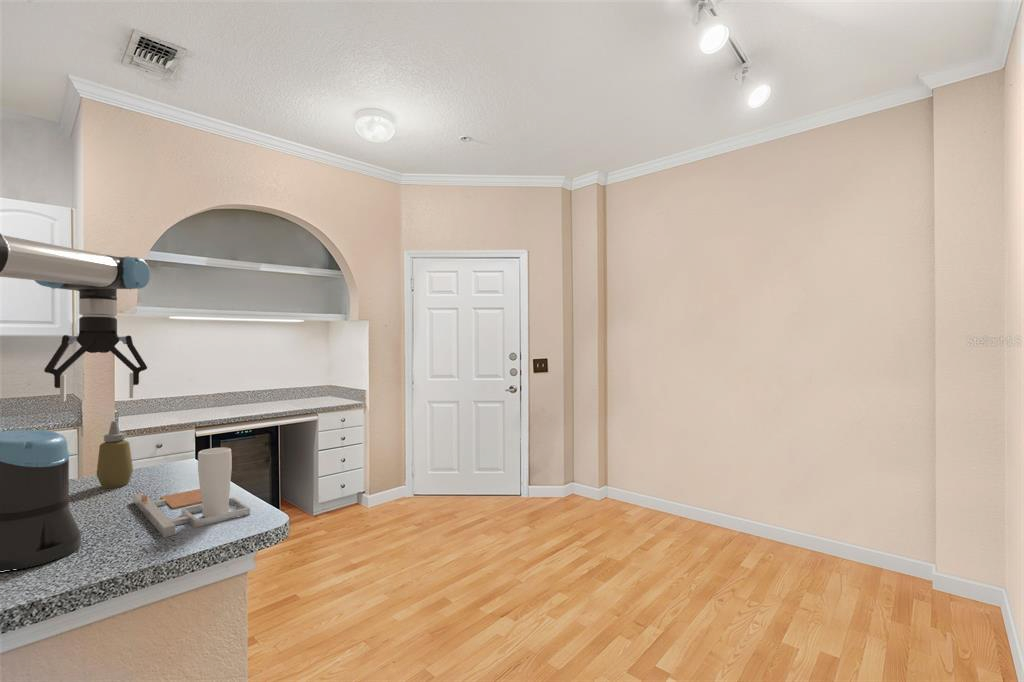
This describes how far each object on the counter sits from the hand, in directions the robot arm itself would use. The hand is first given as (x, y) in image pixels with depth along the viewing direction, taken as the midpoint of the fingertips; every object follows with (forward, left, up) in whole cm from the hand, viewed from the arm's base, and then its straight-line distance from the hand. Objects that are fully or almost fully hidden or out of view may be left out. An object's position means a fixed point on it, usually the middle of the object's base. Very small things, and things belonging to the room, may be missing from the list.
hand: (98, 399), depth 129 cm
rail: (-18, -23, -26) cm, 39 cm away
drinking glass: (-26, -29, -26) cm, 47 cm away
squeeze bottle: (+13, 0, -26) cm, 29 cm away
